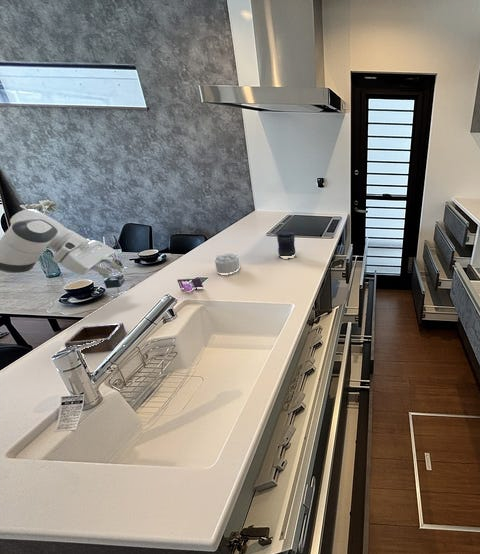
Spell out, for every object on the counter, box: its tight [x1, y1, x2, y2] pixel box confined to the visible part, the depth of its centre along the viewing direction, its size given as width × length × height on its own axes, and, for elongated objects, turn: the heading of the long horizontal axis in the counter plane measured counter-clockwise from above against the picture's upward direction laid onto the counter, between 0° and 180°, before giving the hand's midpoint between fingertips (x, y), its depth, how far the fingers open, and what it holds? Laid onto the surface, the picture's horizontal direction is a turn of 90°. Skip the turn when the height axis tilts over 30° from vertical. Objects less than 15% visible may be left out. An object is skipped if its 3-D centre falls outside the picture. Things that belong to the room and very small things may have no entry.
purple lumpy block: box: [176, 277, 204, 292], centre depth 134 cm, size 7×5×9 cm
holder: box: [64, 322, 127, 354], centre depth 99 cm, size 12×10×4 cm
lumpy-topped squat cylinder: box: [214, 253, 241, 278], centre depth 156 cm, size 10×13×9 cm
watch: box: [98, 256, 126, 289], centre depth 114 cm, size 6×8×11 cm
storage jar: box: [276, 229, 296, 256], centre depth 179 cm, size 10×10×15 cm
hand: (113, 270), depth 114 cm, fingers closed on watch, 4 cm apart
